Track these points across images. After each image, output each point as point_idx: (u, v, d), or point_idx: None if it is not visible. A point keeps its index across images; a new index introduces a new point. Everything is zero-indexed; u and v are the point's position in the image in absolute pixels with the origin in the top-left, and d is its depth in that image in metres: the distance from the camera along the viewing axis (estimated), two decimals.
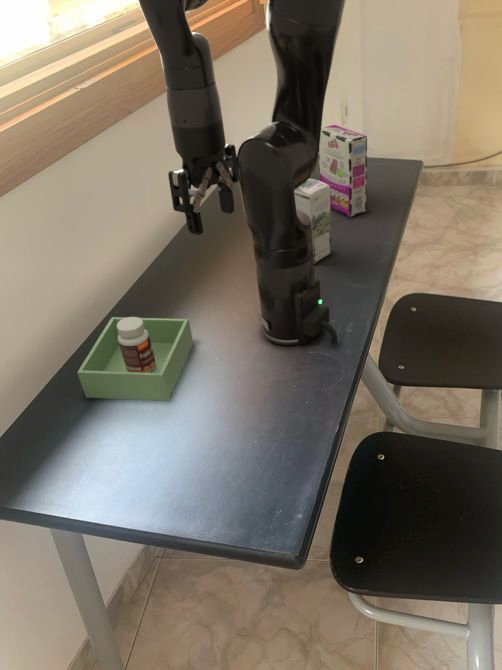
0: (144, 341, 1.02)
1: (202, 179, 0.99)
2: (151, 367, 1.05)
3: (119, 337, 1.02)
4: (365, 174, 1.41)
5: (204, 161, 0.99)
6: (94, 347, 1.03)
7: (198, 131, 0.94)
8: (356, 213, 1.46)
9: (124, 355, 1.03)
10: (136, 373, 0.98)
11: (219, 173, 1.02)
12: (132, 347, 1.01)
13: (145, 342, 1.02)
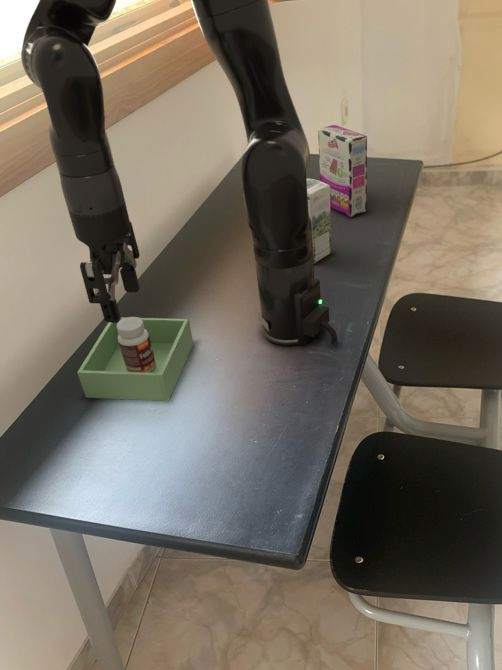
0: (144, 341, 1.02)
1: (113, 264, 0.92)
2: (151, 367, 1.05)
3: (119, 337, 1.02)
4: (365, 174, 1.41)
5: (111, 245, 0.91)
6: (94, 347, 1.03)
7: (106, 217, 0.87)
8: (356, 213, 1.46)
9: (124, 355, 1.03)
10: (136, 373, 0.98)
11: (125, 254, 0.95)
12: (132, 347, 1.01)
13: (145, 342, 1.02)
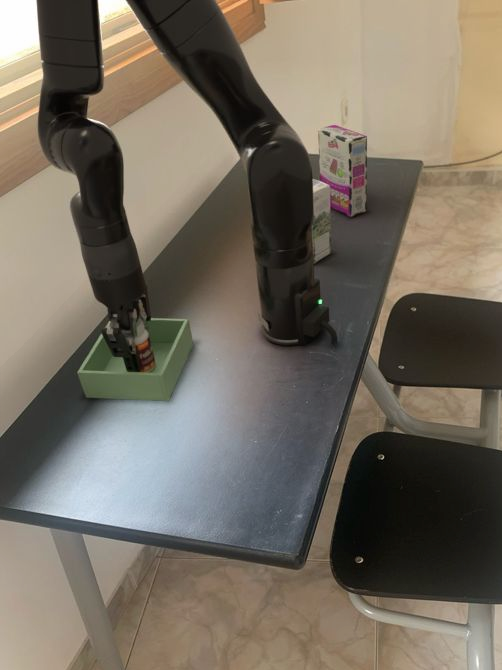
0: (144, 341, 1.02)
1: (131, 323, 0.98)
2: (151, 367, 1.05)
3: None
4: (365, 174, 1.41)
5: (127, 304, 0.97)
6: (94, 347, 1.03)
7: (124, 280, 0.93)
8: (356, 213, 1.46)
9: None
10: (136, 373, 0.98)
11: (139, 312, 1.01)
12: None
13: (145, 342, 1.02)
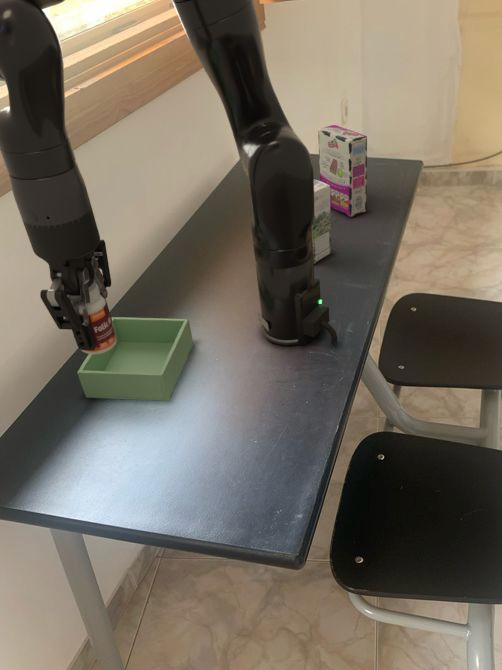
0: (99, 311, 0.80)
1: (81, 285, 0.77)
2: (110, 344, 0.84)
3: None
4: (365, 174, 1.41)
5: (76, 261, 0.76)
6: None
7: (68, 227, 0.71)
8: (356, 213, 1.46)
9: None
10: (136, 373, 0.98)
11: (93, 273, 0.79)
12: None
13: (100, 312, 0.81)
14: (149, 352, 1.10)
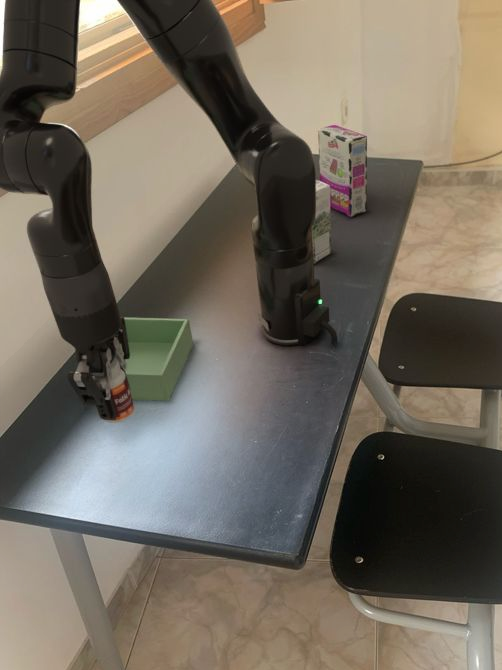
0: (119, 385, 0.87)
1: (104, 365, 0.83)
2: (129, 413, 0.90)
3: None
4: (365, 174, 1.41)
5: (100, 343, 0.83)
6: None
7: (94, 317, 0.78)
8: (356, 213, 1.46)
9: None
10: (136, 373, 0.98)
11: (115, 350, 0.86)
12: None
13: (121, 386, 0.87)
14: (149, 352, 1.10)
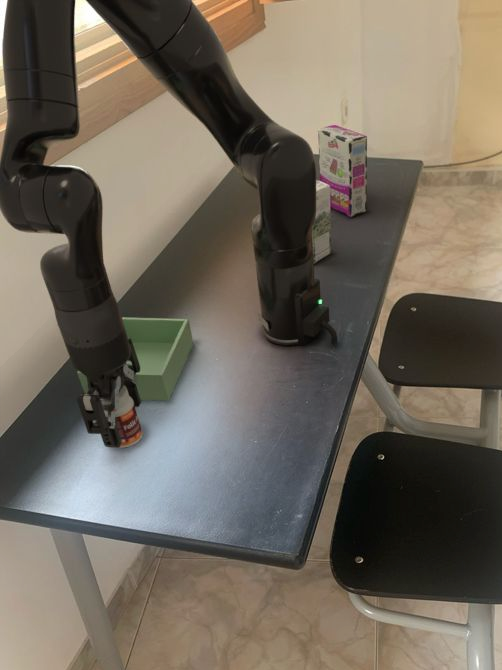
0: (128, 411, 0.90)
1: (113, 391, 0.85)
2: (137, 438, 0.93)
3: None
4: (365, 174, 1.41)
5: (110, 371, 0.85)
6: None
7: (105, 347, 0.80)
8: (356, 213, 1.46)
9: None
10: (136, 373, 0.98)
11: (125, 375, 0.89)
12: (115, 418, 0.89)
13: (129, 412, 0.90)
14: (149, 352, 1.10)
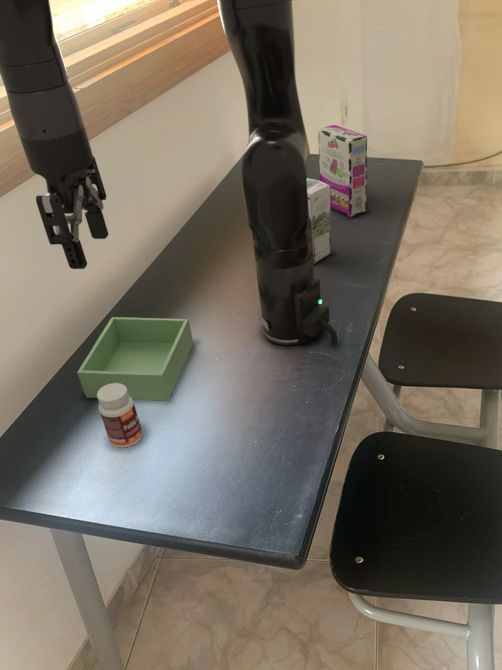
0: (128, 411, 0.90)
1: (75, 200, 0.81)
2: (137, 438, 0.93)
3: (100, 407, 0.90)
4: (365, 174, 1.41)
5: (71, 179, 0.81)
6: (94, 347, 1.03)
7: (63, 141, 0.76)
8: (356, 213, 1.46)
9: (106, 426, 0.91)
10: (136, 373, 0.98)
11: (89, 191, 0.85)
12: (115, 418, 0.89)
13: (129, 412, 0.90)
14: (149, 352, 1.10)
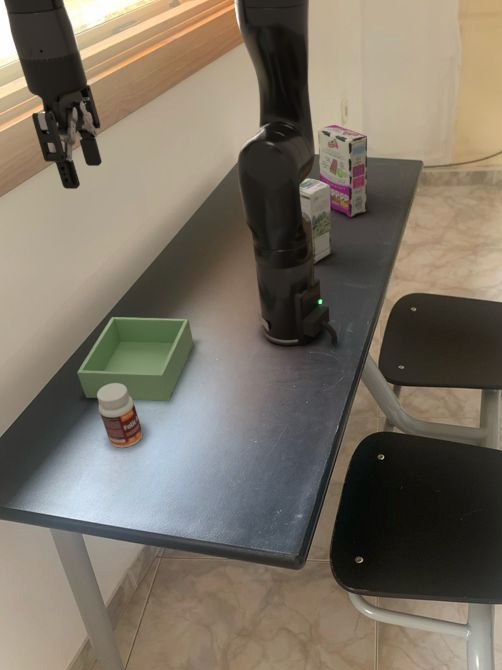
0: (128, 411, 0.90)
1: (69, 121, 0.87)
2: (137, 438, 0.93)
3: (100, 407, 0.90)
4: (365, 174, 1.41)
5: (66, 101, 0.87)
6: (94, 347, 1.03)
7: (59, 62, 0.82)
8: (356, 213, 1.46)
9: (106, 426, 0.91)
10: (136, 373, 0.98)
11: (83, 116, 0.91)
12: (115, 418, 0.89)
13: (129, 412, 0.90)
14: (149, 352, 1.10)
